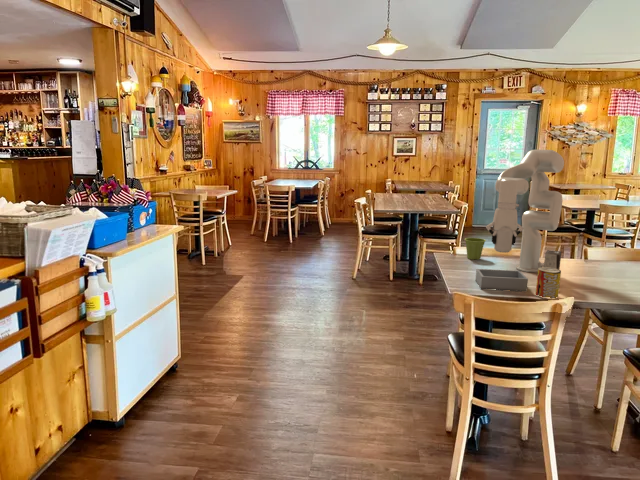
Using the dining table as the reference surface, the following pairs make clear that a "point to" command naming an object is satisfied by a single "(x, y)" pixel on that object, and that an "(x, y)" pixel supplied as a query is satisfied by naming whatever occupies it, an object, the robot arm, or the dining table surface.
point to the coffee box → (552, 259)
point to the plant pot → (474, 247)
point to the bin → (501, 280)
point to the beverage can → (548, 282)
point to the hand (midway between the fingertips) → (503, 243)
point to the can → (504, 240)
